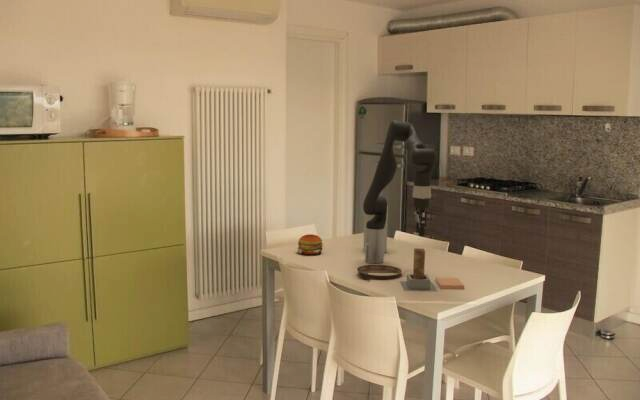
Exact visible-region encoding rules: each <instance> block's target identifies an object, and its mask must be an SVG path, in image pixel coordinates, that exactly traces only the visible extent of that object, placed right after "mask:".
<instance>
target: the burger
mask: <svg viewBox="0 0 640 400" xmlns="http://www.w3.org/2000/svg"><path fill="white" fill-rule="evenodd" d="M297 244H298V247H297V251H298V253H299V254H303V255H311V256H312V255H319V254H321V253H322V251H323V247H324V246H323V245H324V244H323V240H322V238H321V237H320V236H318V235H315V234H305V235H302V236H301V237H300V238H299V239H298V242H297Z"/></svg>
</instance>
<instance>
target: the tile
mask: <svg viewBox="0 0 640 400" xmlns="http://www.w3.org/2000/svg"><path fill="white" fill-rule="evenodd" d="M434 278H435V279H434V282H435V283H436V284H437V286H438V288H439V289H440V290H464V289H465V284H464V283H463V282H462V281H461V280H460V279H459V277H437V276H436V277H434Z"/></svg>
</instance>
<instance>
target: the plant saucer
mask: <svg viewBox="0 0 640 400" xmlns="http://www.w3.org/2000/svg"><path fill="white" fill-rule="evenodd" d="M356 270H357V272H358V274H359V275H360V276H361V277H362V278H364V279H367V280H371V279H373V280H391V279H396V278H398V277H399V276H400V275H401V274H402V272H403V270H402V269H401V268H399V267H396V266H393V265H386V264H366V265H361V266H358V267H357V268H356ZM376 274H377V275H376ZM378 274H386V275H378ZM387 274H388V275H387Z"/></svg>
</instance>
